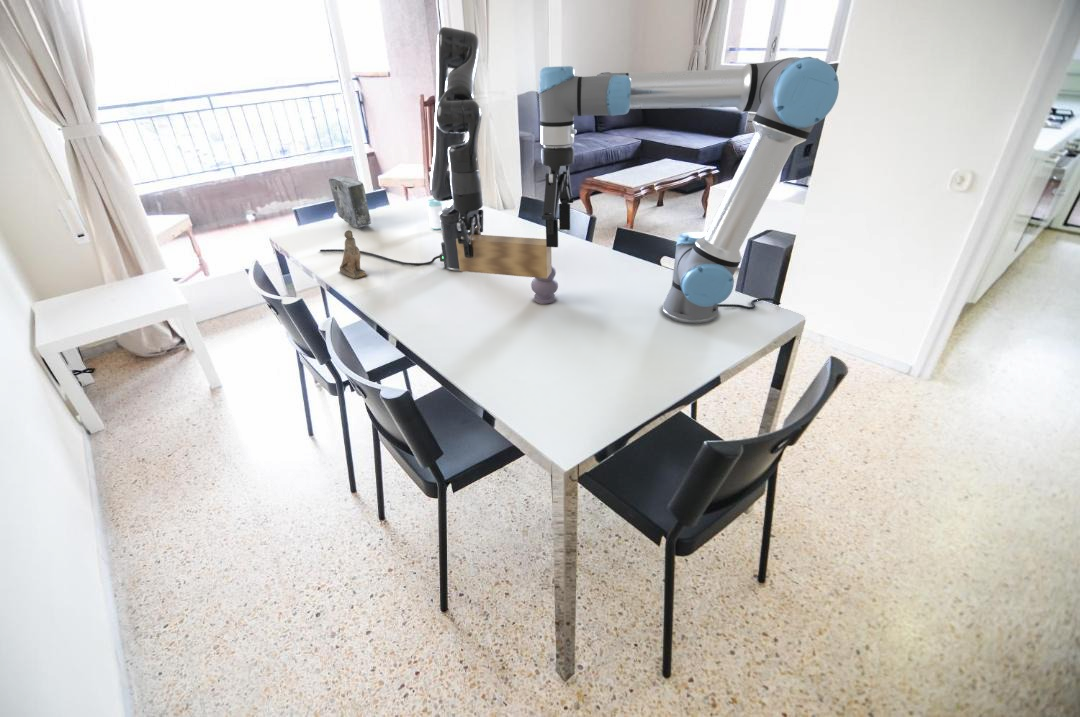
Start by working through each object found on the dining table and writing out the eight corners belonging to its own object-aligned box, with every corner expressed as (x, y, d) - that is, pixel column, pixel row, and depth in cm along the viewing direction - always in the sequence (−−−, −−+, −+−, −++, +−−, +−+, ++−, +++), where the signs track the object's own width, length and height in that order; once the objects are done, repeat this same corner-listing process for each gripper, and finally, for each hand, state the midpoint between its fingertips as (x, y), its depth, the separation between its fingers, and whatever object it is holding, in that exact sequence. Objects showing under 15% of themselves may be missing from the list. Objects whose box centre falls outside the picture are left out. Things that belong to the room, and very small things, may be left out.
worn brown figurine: (368, 281, 178) (362, 235, 166) (353, 285, 175) (347, 238, 163) (352, 266, 184) (346, 221, 172) (338, 270, 181) (331, 224, 169)
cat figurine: (563, 298, 154) (563, 262, 147) (546, 307, 149) (545, 269, 143) (543, 291, 159) (542, 255, 152) (526, 299, 154) (524, 263, 148)
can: (445, 229, 220) (441, 202, 214) (429, 230, 220) (425, 202, 214) (447, 224, 226) (444, 198, 220) (432, 225, 226) (428, 198, 220)
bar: (459, 271, 135) (455, 239, 130) (466, 264, 139) (463, 233, 134) (546, 278, 129) (546, 245, 124) (551, 271, 133) (551, 239, 128)
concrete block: (376, 229, 224) (366, 183, 213) (356, 233, 219) (346, 186, 209) (356, 217, 242) (347, 174, 232) (338, 220, 238) (327, 177, 228)
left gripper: (464, 181, 132) (470, 244, 141) (440, 195, 120) (448, 262, 129) (490, 183, 130) (495, 246, 139) (468, 196, 118) (475, 264, 127)
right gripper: (561, 155, 101) (562, 255, 112) (584, 137, 121) (583, 223, 132) (526, 155, 103) (530, 253, 114) (554, 137, 123) (555, 222, 134)
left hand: (472, 253), depth 134 cm, fingers closed on bar, 4 cm apart
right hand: (558, 237), depth 123 cm, fingers open, 13 cm apart
